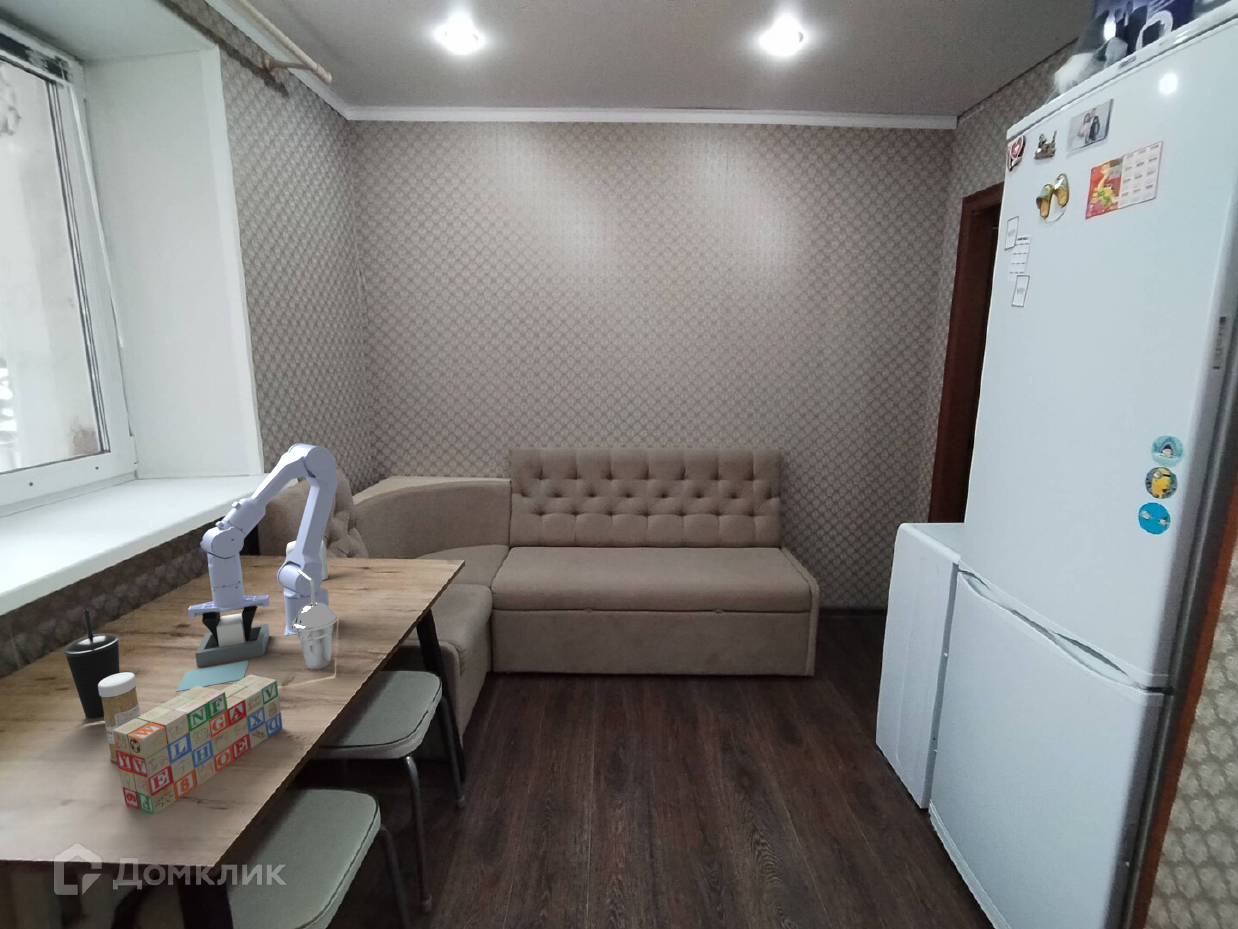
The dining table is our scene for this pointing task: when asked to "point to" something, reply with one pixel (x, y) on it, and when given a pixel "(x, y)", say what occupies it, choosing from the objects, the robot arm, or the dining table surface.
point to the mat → (213, 675)
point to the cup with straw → (315, 630)
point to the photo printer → (321, 554)
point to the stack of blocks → (193, 739)
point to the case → (232, 648)
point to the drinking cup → (92, 666)
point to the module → (231, 630)
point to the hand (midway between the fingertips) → (234, 641)
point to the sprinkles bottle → (118, 704)
